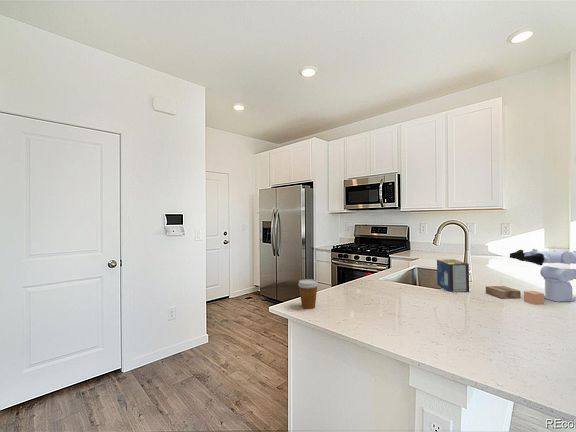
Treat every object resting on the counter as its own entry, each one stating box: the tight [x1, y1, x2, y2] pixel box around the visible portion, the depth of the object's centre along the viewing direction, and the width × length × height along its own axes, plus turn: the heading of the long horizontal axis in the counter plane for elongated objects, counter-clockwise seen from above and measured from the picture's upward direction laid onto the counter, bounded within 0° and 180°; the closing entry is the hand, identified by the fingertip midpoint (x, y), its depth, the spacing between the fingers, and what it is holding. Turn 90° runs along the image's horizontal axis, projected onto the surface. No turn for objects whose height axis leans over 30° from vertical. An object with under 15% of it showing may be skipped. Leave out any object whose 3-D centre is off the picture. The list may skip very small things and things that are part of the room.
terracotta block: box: [523, 290, 545, 306], centre depth 128 cm, size 5×5×5 cm
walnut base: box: [485, 285, 522, 300], centre depth 140 cm, size 10×10×4 cm
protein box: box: [436, 259, 470, 293], centre depth 155 cm, size 10×15×16 cm
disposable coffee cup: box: [297, 278, 319, 310], centre depth 127 cm, size 10×10×12 cm
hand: (517, 257), depth 131 cm, fingers open, 7 cm apart
